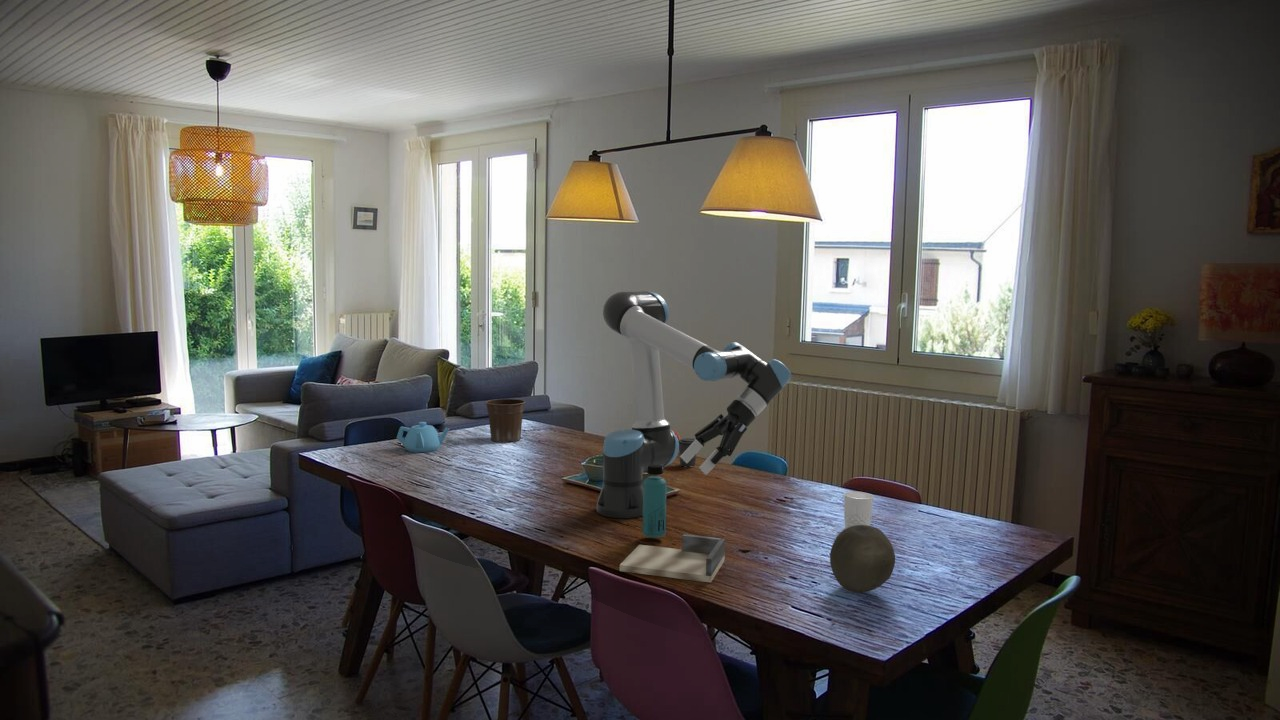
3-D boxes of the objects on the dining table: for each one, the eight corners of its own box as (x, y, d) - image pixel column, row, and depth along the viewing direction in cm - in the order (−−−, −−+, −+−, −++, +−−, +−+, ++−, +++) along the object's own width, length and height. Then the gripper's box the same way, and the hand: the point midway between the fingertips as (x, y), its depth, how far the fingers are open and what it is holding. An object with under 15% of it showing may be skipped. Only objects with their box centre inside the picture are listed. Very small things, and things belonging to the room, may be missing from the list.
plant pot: (479, 442, 346) (479, 403, 344) (492, 435, 362) (493, 397, 360) (518, 444, 343) (518, 405, 341) (529, 437, 359) (530, 399, 357)
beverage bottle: (658, 544, 221) (660, 469, 219) (636, 540, 224) (638, 465, 222) (670, 538, 226) (672, 464, 224) (649, 533, 230) (651, 461, 228)
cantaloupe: (824, 598, 187) (827, 531, 185) (833, 577, 200) (836, 514, 198) (890, 608, 182) (894, 539, 180) (895, 586, 195) (899, 522, 193)
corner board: (619, 570, 201) (619, 548, 200) (639, 550, 216) (639, 529, 216) (710, 582, 195) (711, 559, 194) (724, 560, 210) (725, 538, 209)
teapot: (426, 443, 342) (426, 417, 341) (450, 449, 332) (450, 422, 331) (394, 449, 330) (394, 422, 329) (418, 455, 320) (418, 427, 319)
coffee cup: (702, 465, 313) (703, 438, 312) (691, 469, 306) (692, 442, 305) (683, 462, 317) (684, 436, 316) (672, 466, 310) (673, 439, 309)
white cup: (855, 535, 232) (857, 500, 231) (836, 527, 239) (838, 493, 238) (877, 532, 236) (879, 497, 235) (858, 524, 243) (859, 490, 242)
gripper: (775, 425, 219) (720, 486, 216) (735, 410, 243) (684, 464, 239) (757, 405, 217) (701, 466, 214) (718, 392, 240) (667, 446, 237)
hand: (692, 465), depth 227 cm, fingers open, 13 cm apart
